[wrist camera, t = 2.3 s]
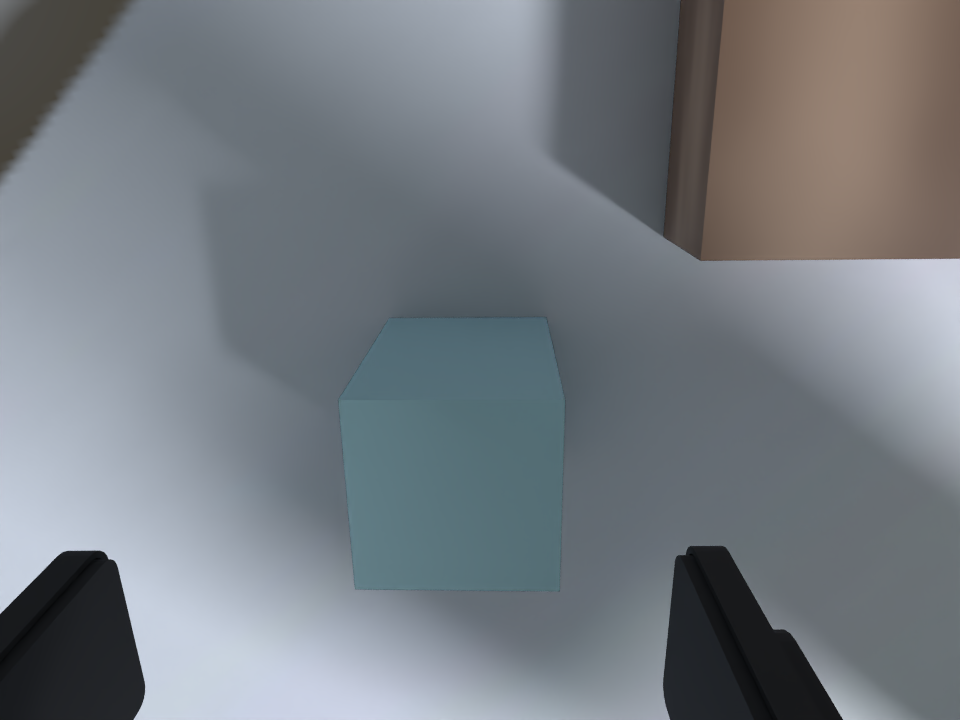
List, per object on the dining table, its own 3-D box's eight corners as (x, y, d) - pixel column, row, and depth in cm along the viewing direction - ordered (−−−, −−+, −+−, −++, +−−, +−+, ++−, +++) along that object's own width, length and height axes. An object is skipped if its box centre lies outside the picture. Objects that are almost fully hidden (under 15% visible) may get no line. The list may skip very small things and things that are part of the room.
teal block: (546, 316, 21) (565, 400, 15) (543, 458, 23) (559, 591, 16) (389, 317, 21) (337, 399, 15) (397, 458, 23) (355, 589, 16)
